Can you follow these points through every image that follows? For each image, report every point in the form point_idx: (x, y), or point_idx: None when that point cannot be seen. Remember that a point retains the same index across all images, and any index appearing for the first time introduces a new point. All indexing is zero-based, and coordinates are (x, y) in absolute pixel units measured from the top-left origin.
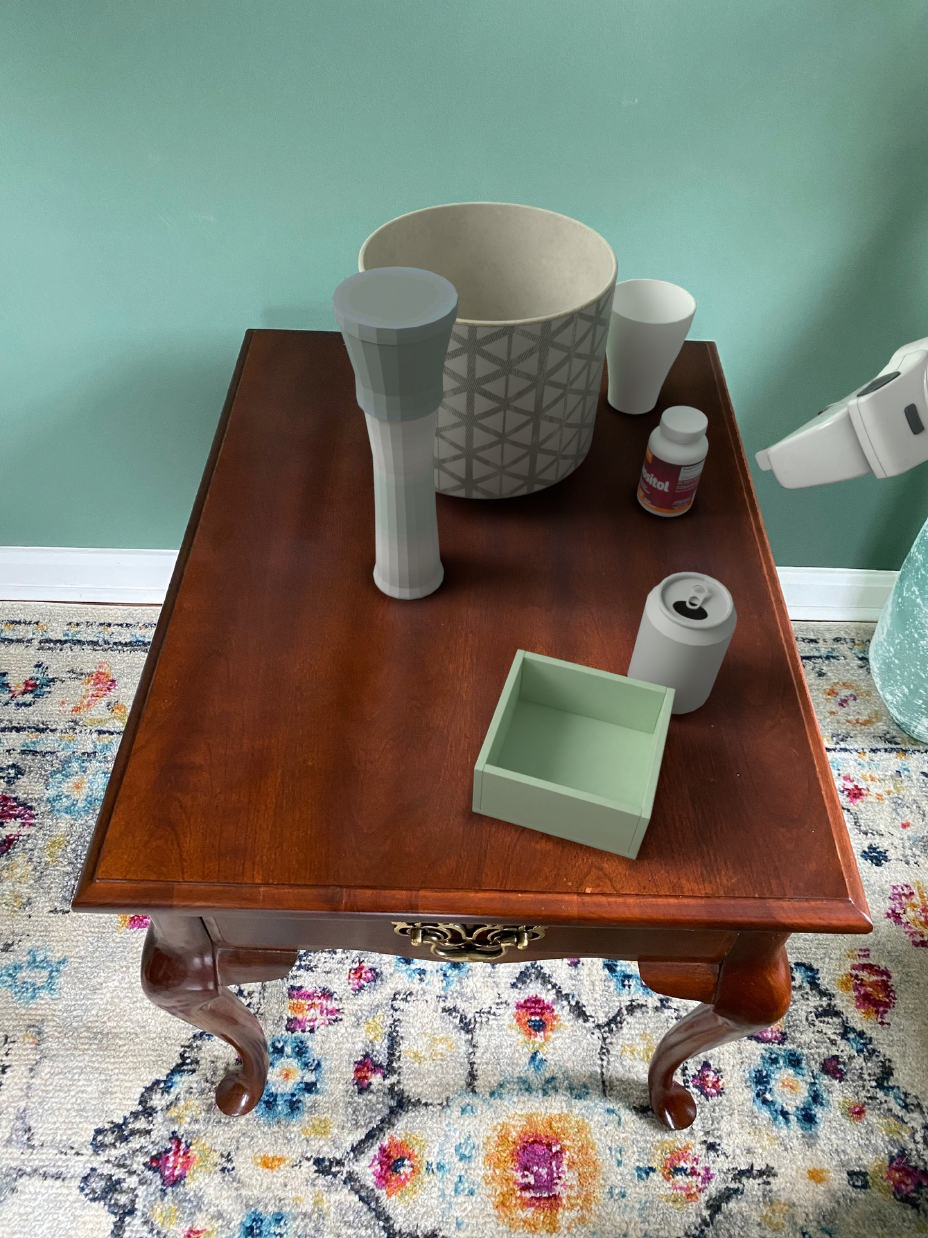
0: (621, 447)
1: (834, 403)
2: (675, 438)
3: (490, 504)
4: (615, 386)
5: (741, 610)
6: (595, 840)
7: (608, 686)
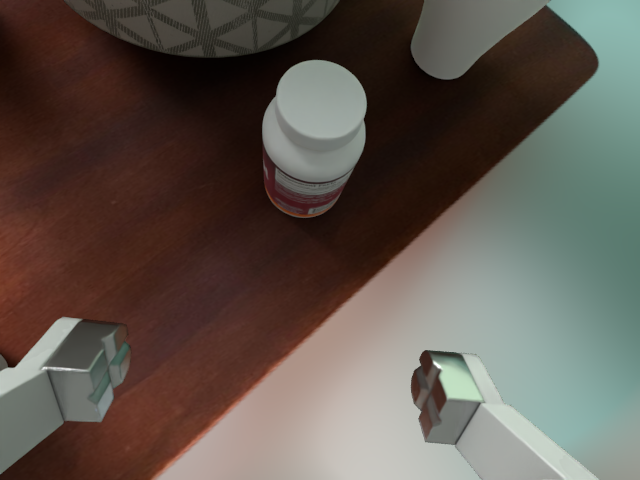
0: None
1: (484, 382)
2: (276, 116)
3: None
4: (421, 14)
5: (176, 388)
6: None
7: None
